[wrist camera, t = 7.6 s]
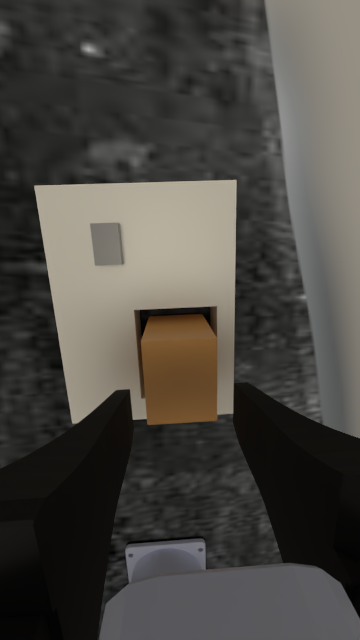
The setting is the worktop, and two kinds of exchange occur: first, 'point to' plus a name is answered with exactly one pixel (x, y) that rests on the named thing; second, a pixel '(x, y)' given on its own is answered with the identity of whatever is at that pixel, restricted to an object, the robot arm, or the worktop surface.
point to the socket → (136, 277)
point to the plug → (179, 369)
